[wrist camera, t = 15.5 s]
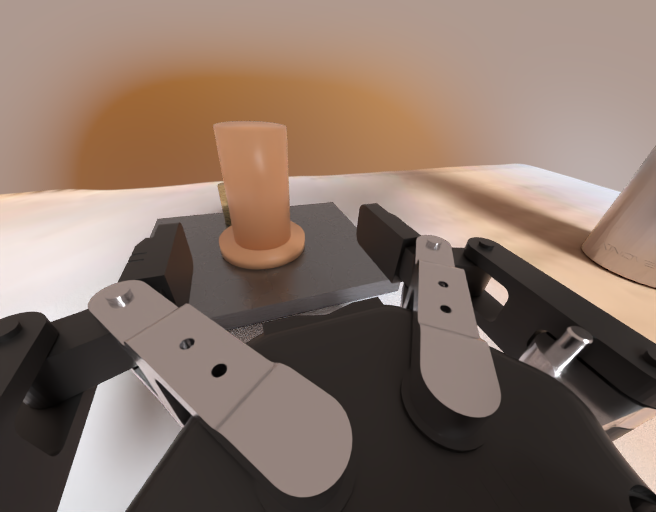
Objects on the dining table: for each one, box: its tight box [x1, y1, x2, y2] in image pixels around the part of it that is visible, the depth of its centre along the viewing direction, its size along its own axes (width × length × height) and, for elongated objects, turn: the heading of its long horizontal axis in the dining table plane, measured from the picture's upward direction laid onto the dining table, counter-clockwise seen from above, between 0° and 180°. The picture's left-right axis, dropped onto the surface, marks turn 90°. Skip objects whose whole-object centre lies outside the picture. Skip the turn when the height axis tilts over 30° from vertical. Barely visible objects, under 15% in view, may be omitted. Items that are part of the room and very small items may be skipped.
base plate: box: [150, 183, 400, 330], centre depth 23 cm, size 20×16×6 cm
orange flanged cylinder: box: [213, 121, 305, 270], centre depth 21 cm, size 8×8×10 cm
